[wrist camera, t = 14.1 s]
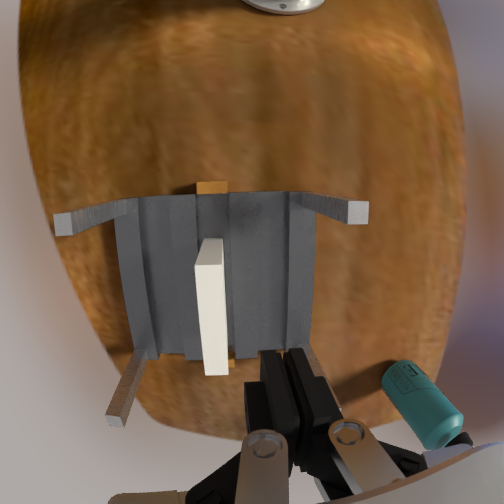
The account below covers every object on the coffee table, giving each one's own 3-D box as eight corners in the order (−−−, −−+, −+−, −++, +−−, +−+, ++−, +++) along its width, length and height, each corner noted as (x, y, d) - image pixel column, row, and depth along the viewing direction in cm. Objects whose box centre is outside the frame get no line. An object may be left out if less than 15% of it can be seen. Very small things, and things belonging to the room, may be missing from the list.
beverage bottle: (373, 390, 40) (431, 480, 20) (378, 358, 38) (450, 451, 19) (406, 379, 40) (470, 458, 21) (413, 347, 38) (489, 426, 19)
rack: (119, 187, 29) (51, 196, 16) (309, 180, 31) (368, 183, 17) (142, 356, 34) (113, 433, 21) (303, 351, 36) (336, 427, 23)
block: (204, 238, 31) (194, 265, 21) (222, 237, 31) (221, 264, 21) (209, 323, 33) (205, 375, 24) (226, 322, 33) (228, 374, 24)
